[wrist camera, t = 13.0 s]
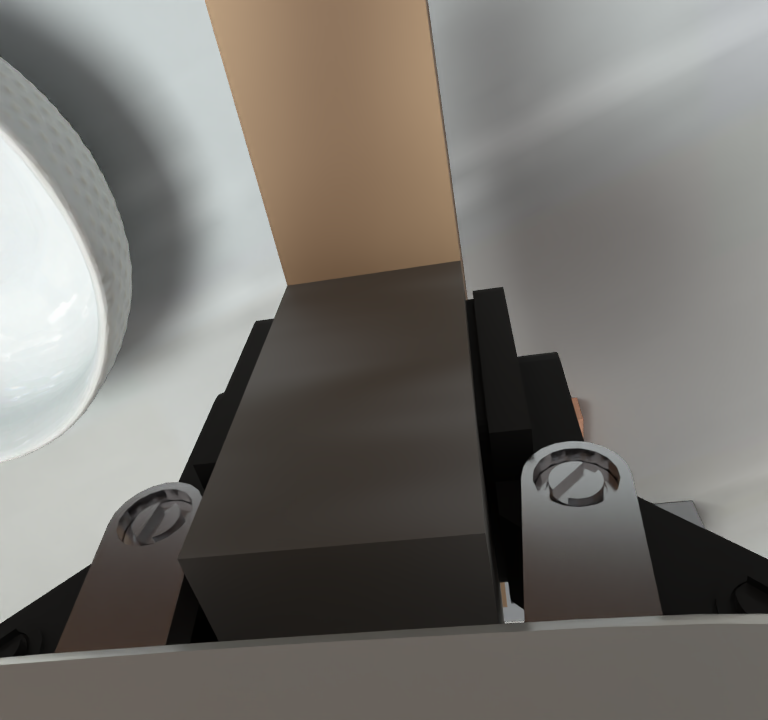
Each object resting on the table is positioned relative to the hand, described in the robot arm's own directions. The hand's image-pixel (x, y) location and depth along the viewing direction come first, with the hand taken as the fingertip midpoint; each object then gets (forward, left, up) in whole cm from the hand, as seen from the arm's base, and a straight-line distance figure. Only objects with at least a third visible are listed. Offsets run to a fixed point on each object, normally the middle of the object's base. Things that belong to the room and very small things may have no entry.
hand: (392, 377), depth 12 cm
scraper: (0, 0, -2) cm, 2 cm away
